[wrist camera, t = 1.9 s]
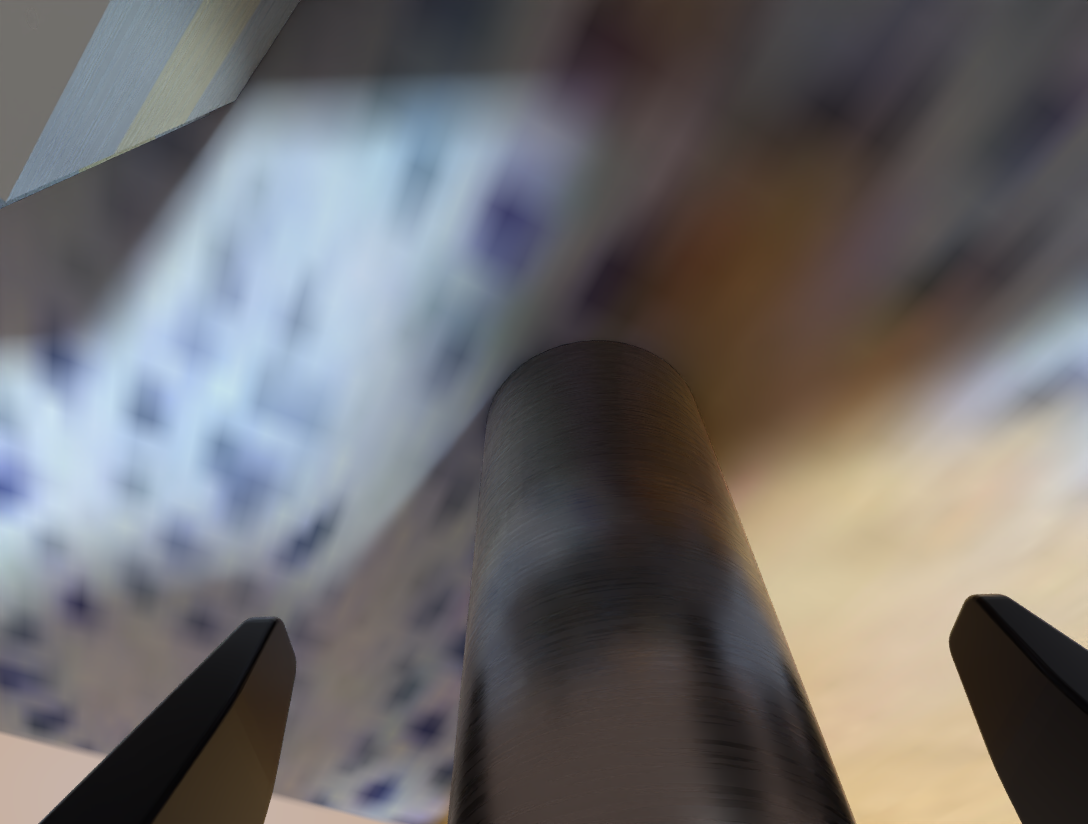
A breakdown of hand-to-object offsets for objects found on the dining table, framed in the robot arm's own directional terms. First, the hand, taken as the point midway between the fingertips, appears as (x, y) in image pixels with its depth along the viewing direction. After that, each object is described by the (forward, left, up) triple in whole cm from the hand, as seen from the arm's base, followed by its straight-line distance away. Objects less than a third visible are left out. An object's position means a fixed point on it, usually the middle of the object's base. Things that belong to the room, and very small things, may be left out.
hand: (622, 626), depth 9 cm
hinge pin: (0, 0, -4) cm, 5 cm away
